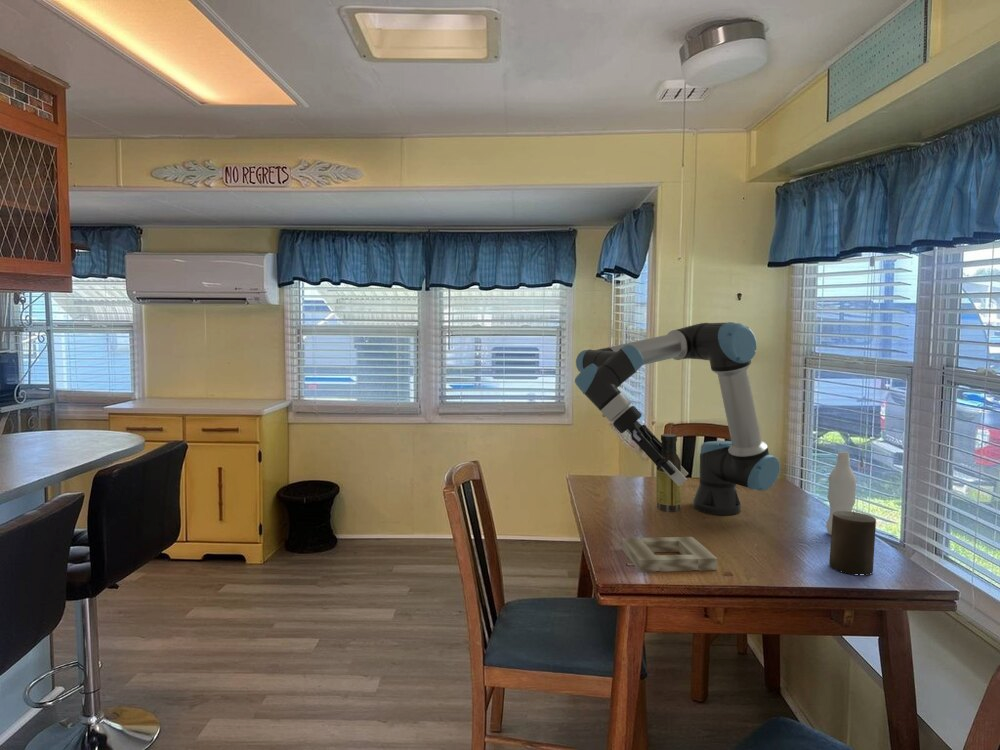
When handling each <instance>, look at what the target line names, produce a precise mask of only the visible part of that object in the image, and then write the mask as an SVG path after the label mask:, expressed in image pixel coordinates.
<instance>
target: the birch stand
mask: <svg viewBox="0 0 1000 750" xmlns="http://www.w3.org/2000/svg"><path fill="white" fill-rule="evenodd" d="M621 550H622V552H623V553H624V554H625V556H627V558H628V559H629V560H630V562H631V563H632V564H633V565H634V566H636V567H635V568H636V569H637V570H638V572H640V573H649V572H650V573H652V572H654V573H655V572H656V571H660V572H686V571H687V572H692V571H691V570H699V571H718V557H717V556H715V555H714V554H713V553H712V552H710V550H709V549H707V548H706V547H705V546H704V545H702V544H701V543H700V542H699V541H698V540H697V539H695V538H694V537H693V536H674V537H673V536H669V537H667V536H665V537H663V536H662V537H660V536H659V537H622V538H621ZM670 552H671V553H672V552H673V553H674V552H677V553H679V554H661V555H660V554H655V553H670Z"/></svg>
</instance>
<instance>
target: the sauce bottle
mask: <svg viewBox="0 0 1000 750" xmlns="http://www.w3.org/2000/svg"><path fill="white" fill-rule="evenodd" d="M677 441H678V437H677V435H676V434H674V433H673V434H672V433H665V434H664V433H662V434H660V442H661V443H662V449H661V453H662V454H663V455H664V457H665V458H666V459H667V460H669V461H670V462H671V463H672V464H673V465H674V466H675V467H676V468H677V469H678V470H679V471H680V472H681V466H682V462H681V459H680V457H679V455H678V454H677ZM656 503H657V504H656V508H657V510H658V511H660V512H662V513H669V514H673V513H677V512H678V513H679V512H680V511H681V509H682V508H681V506H682V505H681V504H682V484H681V485H680V486H678V485H677V484H676V483H675V482H674V481H673V480H672V479H671V478H670V477H669V476H668V475H667V474H666V472H665V471H664V470H663V469H662V468H661V467H660V468H659V469H657V468H656Z"/></svg>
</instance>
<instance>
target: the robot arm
mask: <svg viewBox="0 0 1000 750" xmlns="http://www.w3.org/2000/svg"><path fill="white" fill-rule="evenodd" d="M757 344H758V342H757V338H756V335H755V333H754V332H753V330H752V329H751V328H750V327H749V326H747V325H745V324H743V323H740V322H730V321H729V322H700V323H696V324H692V325H689V326H685V327H680V328H677V329H673V330H670V331H669V332H668V333H667V334H665V335H661V336H656V337H655V336H654V337H650V338H645V339H642V340H635V341H632V342H626V343H622V344H618V345H613V346H607V347H604V348H598V349H585V350H582V351H580V352H579V354H577V356H576V358H575V366H576V369H577V371H578V372H579V373H578V374H577V376H576V377H575V379H574V383H575V385H576V386H577V388H578V389H579V390H580V391H581V393H582V394H583V395H584V396H585V397H586V398H587V399H588V400H589V401H590V402H592V404H593V405H594V406H595V407H596V408H597V409H598V410H599V411H600V412H601V413H602V414H601V416H602V417H603V418H606V419H607V420H608V421H609V422H612V426H613V427H614V428H615V429H616V430H617V431H618V432H619V433H620V434H623V433H625V432H626V431H628V432H629V433H630V434H631V435H630V438H631V440H632V441H634V442H635V444H637V446H638V447H639V448H640V449H641V450H642V451H643V453H644V454H645V455H646V456H647V457H648V458H649V459H650V460H651V461H652V462H653V464H654V465H655V466H656V470H657V469H659V468H660V467H661V468H662V469H663V470H664V471H665V472H666V474H667V475H668V476H669V477H670V478H671V479H672V480H673V481H674V482H675V483H676V484H677V485H678V486H680V485H681V486H682V485H683V484H684V483H685V482H686V481H687V480H688V479H687V478H686V477H687V476H688V475H689V472H688V471H687V470H686V469H685V468H684V467H683V466H682V465H681V472H680V471H679V470H678V469H677V468H676V467H675V466H674V465H673V464H672V463H671V462H670V461H669V460H667V459H666V458H665V457H664V455H663V454H662V453H661V449H662V441H661V440H659V439H658V438H657V436H655V434H654V433H653V432H652V431H651V430H650V428H648V427H647V425H646V424H641V423H640V422H639V421H638V420H640V418H642V415H643V414H642V413H641V411H640V410H639V409H638V408H637V407H636V406H634V405H631V404H632V402H631V401H630V400H629V398H627V397H626V395H625V394H624V393H623V392H622V391H621V390H620V389H619V387H620V386H621V385H622V384H623V383H625V382H626V381H627V380H628V379H629V378H631V377H632V376H633V375H634V374H636V373H637V371H639V370H640V369H641V368H642V366H644V365H649V364H653V363H657V362H661V361H662V362H663V361H666V360H670V359H673V360H675V361H680V360H704V361H709V364H710V365H709V366H710V370H711V371H712V372H713V373H715V374H716V375H717V377H718V381H719V382H718V384H719V387H720V393H721V397H722V398H721V399H722V401H723V407H724V412H725V417H726V422H727V426H728V431H729V436H730V440H713V441H705V442H702V444H701V446H700V453H699V485H698V488H697V490H696V493H695V496H694V498H693V503H692V506H693V508H694V509H695V510H696V511H698V512H701V513H704V514H705V513H706V514H710V515H718V516H733V515H732V514H734V515H737V513H738V514H739V512H740V513H741V509H742V505H741V501H740V497H739V494H738V490H737V485H738V486H741V487H745V488H748V489H749V490H756V491H760V492H764V491H767V490H769V489H770V488H772V487H773V486H774V484H775V483H776V481H777V479H778V478H779V474H780V471H781V467H780V461H779V459H778V458H777V457H776V456H775V455H773V454H770V453H769V452H770V451H769V448H768V447H769V446H768V444H767V443H766V442H765V441H764V440H762V438H761V435H760V428H759V425H758V419H757V412H756V408H755V404H754V398H753V393H752V389H751V388H752V387H751V382H750V378H749V373H748V368H749V367H750V366H751V365H752V359H753V358H754V357H755V354H756V350H757V349H758V345H757Z"/></svg>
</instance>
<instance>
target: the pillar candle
mask: <svg viewBox="0 0 1000 750" xmlns="http://www.w3.org/2000/svg"><path fill="white" fill-rule="evenodd" d="M876 525H877V519H876V518H875V517H873V516H872V515H870V514H865V513H861V512H858V511H857V512H856V511H854V510H852V512H849V511H836V512H833V518H832V532H831V535H830V545H829V546H830V550H829V559H828V560H829V562H828V563H829V566H830V567H831V568H832V569H833V570H835V569H836V571H837V570H839V571H838V572H840V571H842V572H841V573H843V572H846V573H845V574H847V573H850V574H849V575H852V574H858V575H860V574H864V575H866V574H870V573H872V572H873V573H874V560H875V558H874V557H875V545H876V543H875V542H876V540H875V539H876V529H877V528H876V527H877V526H876ZM873 573H872V574H873ZM858 575H857V576H858ZM866 576H867V575H866Z"/></svg>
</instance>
